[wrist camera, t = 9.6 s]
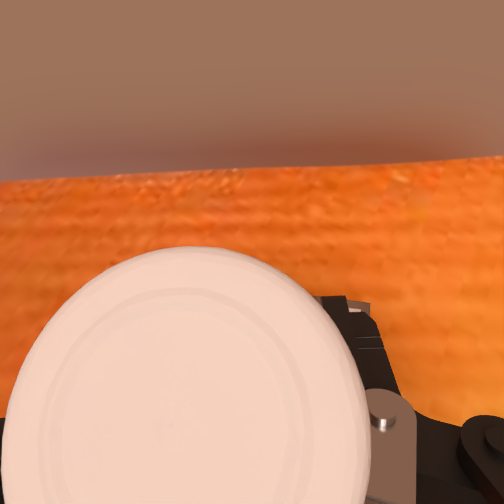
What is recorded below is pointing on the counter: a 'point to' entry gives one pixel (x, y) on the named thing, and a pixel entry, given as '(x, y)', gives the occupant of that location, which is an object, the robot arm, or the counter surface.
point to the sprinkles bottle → (188, 392)
